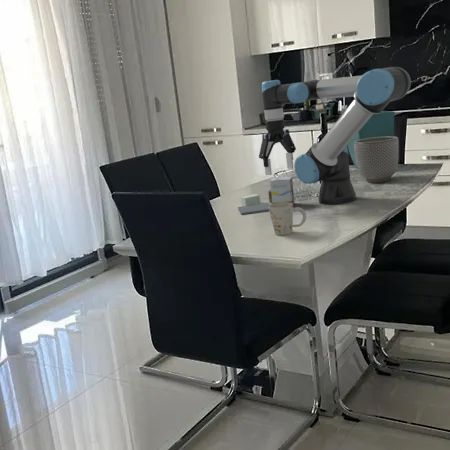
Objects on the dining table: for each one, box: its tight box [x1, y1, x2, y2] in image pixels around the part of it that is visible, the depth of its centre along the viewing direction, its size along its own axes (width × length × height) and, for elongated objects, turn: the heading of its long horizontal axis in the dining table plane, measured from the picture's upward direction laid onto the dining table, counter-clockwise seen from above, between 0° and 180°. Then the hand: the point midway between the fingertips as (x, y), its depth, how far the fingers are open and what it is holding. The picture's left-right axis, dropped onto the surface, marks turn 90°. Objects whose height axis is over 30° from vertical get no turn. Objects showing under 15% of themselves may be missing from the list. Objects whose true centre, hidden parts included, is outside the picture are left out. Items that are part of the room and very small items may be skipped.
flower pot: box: [347, 110, 395, 170], centre depth 319 cm, size 20×20×28 cm
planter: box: [354, 135, 399, 184], centre depth 286 cm, size 20×20×19 cm
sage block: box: [240, 193, 261, 207], centre depth 271 cm, size 4×7×4 cm, turn 115°
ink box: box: [269, 175, 295, 206], centre depth 259 cm, size 9×9×12 cm
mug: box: [268, 202, 307, 236], centre depth 216 cm, size 8×13×10 cm, turn 95°
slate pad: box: [237, 202, 270, 216], centre depth 260 cm, size 13×13×1 cm
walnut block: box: [268, 189, 272, 204], centre depth 272 cm, size 5×5×5 cm
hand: (279, 171), depth 258 cm, fingers open, 13 cm apart
